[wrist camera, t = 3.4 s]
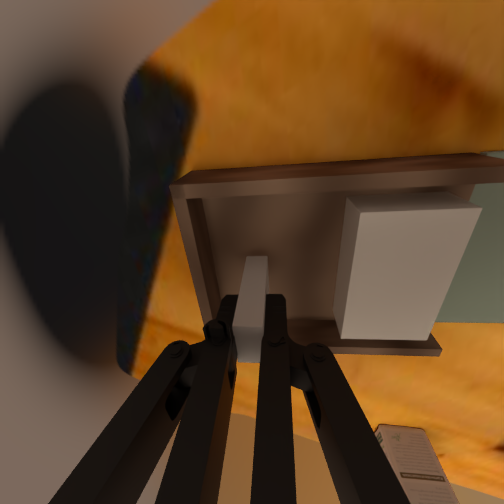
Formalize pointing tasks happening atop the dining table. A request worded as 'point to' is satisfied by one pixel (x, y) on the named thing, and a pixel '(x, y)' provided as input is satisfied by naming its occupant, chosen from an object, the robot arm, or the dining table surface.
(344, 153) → the dining table surface
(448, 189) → the walnut box
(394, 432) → the syrup box
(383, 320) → the light grey block
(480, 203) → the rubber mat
